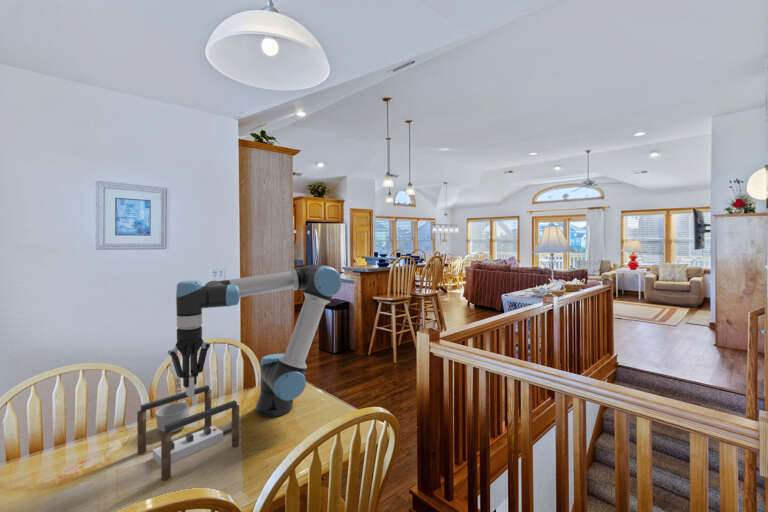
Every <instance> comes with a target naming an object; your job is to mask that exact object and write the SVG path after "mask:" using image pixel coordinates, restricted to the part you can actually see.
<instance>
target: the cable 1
mask: <svg viewBox="0 0 768 512" xmlns="http://www.w3.org/2000/svg"><path fill="white" fill-rule="evenodd" d="M209 389H210V385H207V384H206V385H202V386H200V387H197V388H194V396H195V395H200V394H202V393H205V391H209ZM186 398H190V397H189V396H187V395H186V391H184V392H180V393H177V394H173V395H169V396H167V397H163V398H160V399H157V400H154V401H150V402H146V403H143V404H141V405H140V410H142V411H145V410H146V411H149V410H152V409H154V408H157V407H161V406H165V405H169V404H172V403H174V402H177V401H179V400H180V401H181V400H183V399H186Z"/></svg>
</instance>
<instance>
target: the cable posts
mask: <svg viewBox="0 0 768 512" xmlns="http://www.w3.org/2000/svg"><path fill="white" fill-rule="evenodd" d="M212 392H213V390H212V389H210V388H209V391H205V392H204V411H206V410H209V409H212V408H213V407H212V405H213V404H212V402H213V401H212V395H213V394H212ZM212 418H213V415H212V416H209V417H207V418H204V427H207V426H208V427H211V426H213V425H212V422H213V421H212ZM136 419H137V427H136V428H137V455H144V454H145V452H147V410H145V411H142V410H141V409H140V410H138V411H137V418H136ZM231 427H232V432H231V447H232V449H234V448H237V447H239V446H240V405H239V404H237V406H236V407H233V408H231ZM171 434H172V433H171V431H169V432H166V431H163V432H162V431H161V434H160V442H161V443H160V445H161V446H160V447H161V467H160V468H161V470H160V472H161V473H160V474H161V481H165V482H166V481H168V480H170V479H171V477H172V474H171V473H172V469H171V468H172V466H171V464H172V463H171V441H172V435H171Z"/></svg>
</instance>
